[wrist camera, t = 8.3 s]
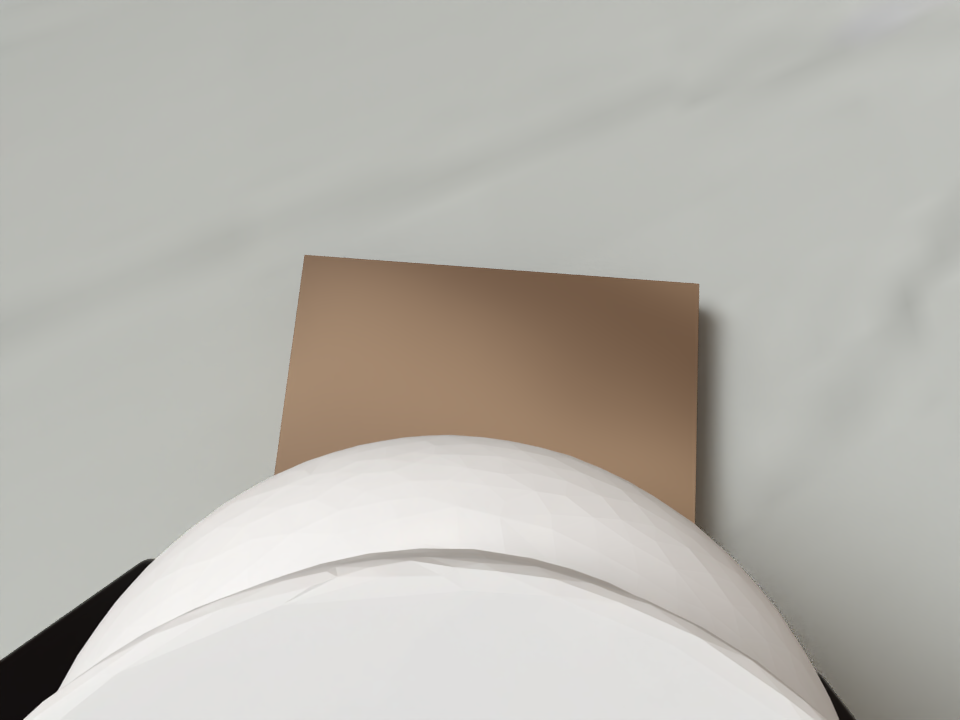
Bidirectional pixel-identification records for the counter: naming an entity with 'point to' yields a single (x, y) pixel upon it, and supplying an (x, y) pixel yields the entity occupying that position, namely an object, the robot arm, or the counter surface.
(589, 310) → the walnut board
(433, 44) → the counter surface
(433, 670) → the supplement bottle
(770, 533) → the counter surface
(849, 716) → the robot arm
